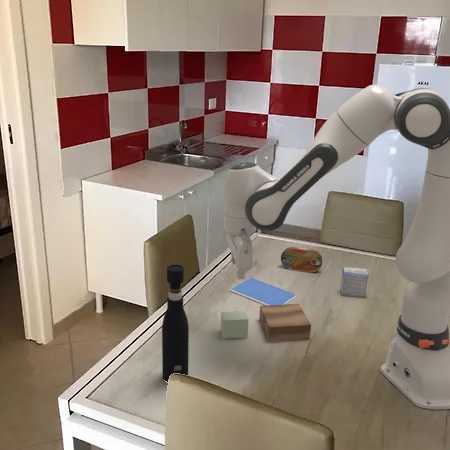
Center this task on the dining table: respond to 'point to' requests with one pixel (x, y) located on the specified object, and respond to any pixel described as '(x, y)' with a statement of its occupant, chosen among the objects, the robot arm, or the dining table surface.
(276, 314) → the walnut brick
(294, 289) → the dining table surface
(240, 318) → the sage brick
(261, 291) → the blue rectangular panel
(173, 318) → the black bottle
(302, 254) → the tin
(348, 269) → the medicine box
